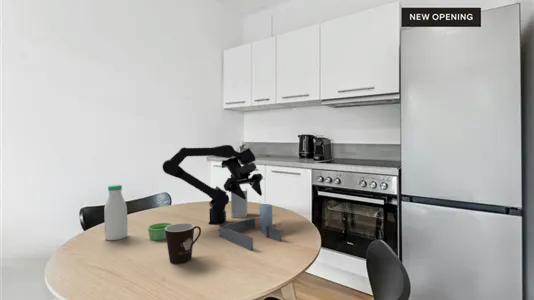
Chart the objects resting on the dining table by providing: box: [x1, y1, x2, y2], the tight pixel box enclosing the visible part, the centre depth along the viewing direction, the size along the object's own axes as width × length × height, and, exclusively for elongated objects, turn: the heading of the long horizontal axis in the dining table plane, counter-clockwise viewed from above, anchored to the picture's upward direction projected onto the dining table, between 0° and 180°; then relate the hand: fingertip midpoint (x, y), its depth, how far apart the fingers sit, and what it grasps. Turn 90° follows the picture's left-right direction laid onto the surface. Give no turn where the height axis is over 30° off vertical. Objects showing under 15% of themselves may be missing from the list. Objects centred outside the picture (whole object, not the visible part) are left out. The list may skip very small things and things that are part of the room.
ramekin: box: [147, 222, 173, 241], centre depth 110 cm, size 9×9×4 cm
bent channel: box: [218, 215, 283, 251], centre depth 109 cm, size 20×20×4 cm
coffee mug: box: [165, 222, 202, 265], centre depth 89 cm, size 12×9×10 cm
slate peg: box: [259, 203, 274, 233], centre depth 116 cm, size 5×5×10 cm
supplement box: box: [230, 188, 249, 218], centre depth 140 cm, size 7×7×13 cm
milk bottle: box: [103, 184, 129, 241], centre depth 111 cm, size 8×8×20 cm
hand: (253, 196), depth 122 cm, fingers open, 9 cm apart
